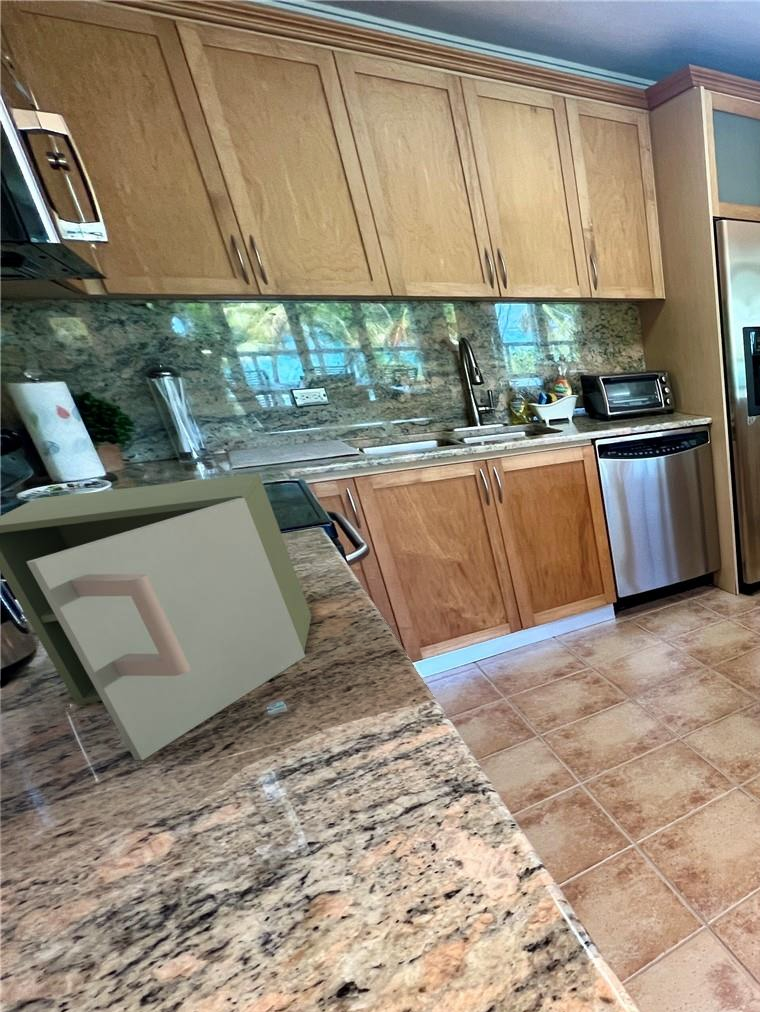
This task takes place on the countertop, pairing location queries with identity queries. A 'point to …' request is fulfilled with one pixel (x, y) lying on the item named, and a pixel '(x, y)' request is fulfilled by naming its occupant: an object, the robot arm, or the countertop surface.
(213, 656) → the door
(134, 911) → the countertop surface
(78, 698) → the cupboard
